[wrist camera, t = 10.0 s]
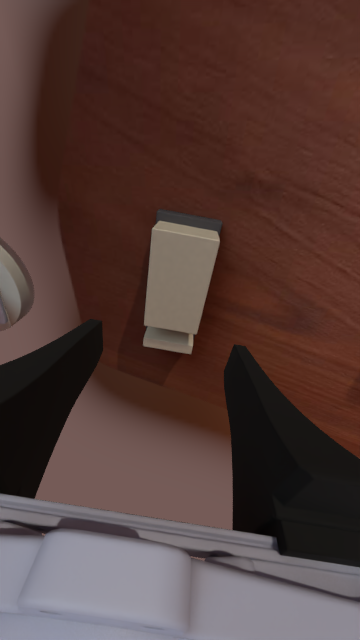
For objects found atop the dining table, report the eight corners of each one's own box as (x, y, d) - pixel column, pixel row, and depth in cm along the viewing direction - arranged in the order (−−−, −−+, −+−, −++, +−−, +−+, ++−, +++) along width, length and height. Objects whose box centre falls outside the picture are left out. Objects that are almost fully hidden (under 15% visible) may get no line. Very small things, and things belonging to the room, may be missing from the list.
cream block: (193, 333, 23) (192, 360, 20) (148, 325, 23) (139, 351, 20) (221, 220, 17) (226, 231, 14) (159, 208, 17) (149, 216, 14)
